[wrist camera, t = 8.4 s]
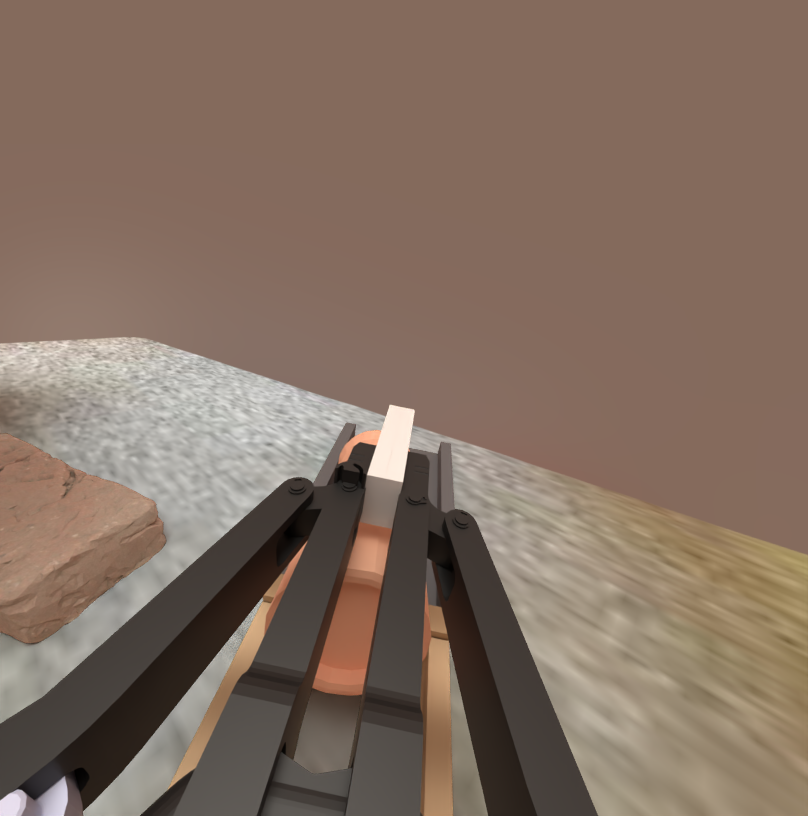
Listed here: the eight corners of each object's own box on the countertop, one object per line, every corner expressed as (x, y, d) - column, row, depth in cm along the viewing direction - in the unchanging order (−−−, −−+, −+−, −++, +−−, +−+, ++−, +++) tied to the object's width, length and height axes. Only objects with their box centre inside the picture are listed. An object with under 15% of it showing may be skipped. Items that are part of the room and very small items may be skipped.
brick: (175, 540, 24) (164, 494, 22) (33, 657, 17) (-4, 606, 15) (22, 473, 28) (-1, 427, 25) (-154, 548, 20) (-206, 493, 18)
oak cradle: (439, 994, 11) (461, 991, 10) (123, 923, 11) (100, 911, 10) (439, 634, 21) (450, 609, 20) (275, 600, 22) (274, 572, 20)
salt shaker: (247, 675, 14) (333, 473, 33) (398, 711, 15) (399, 494, 33) (286, 547, 12) (354, 410, 31) (457, 596, 13) (424, 433, 32)
